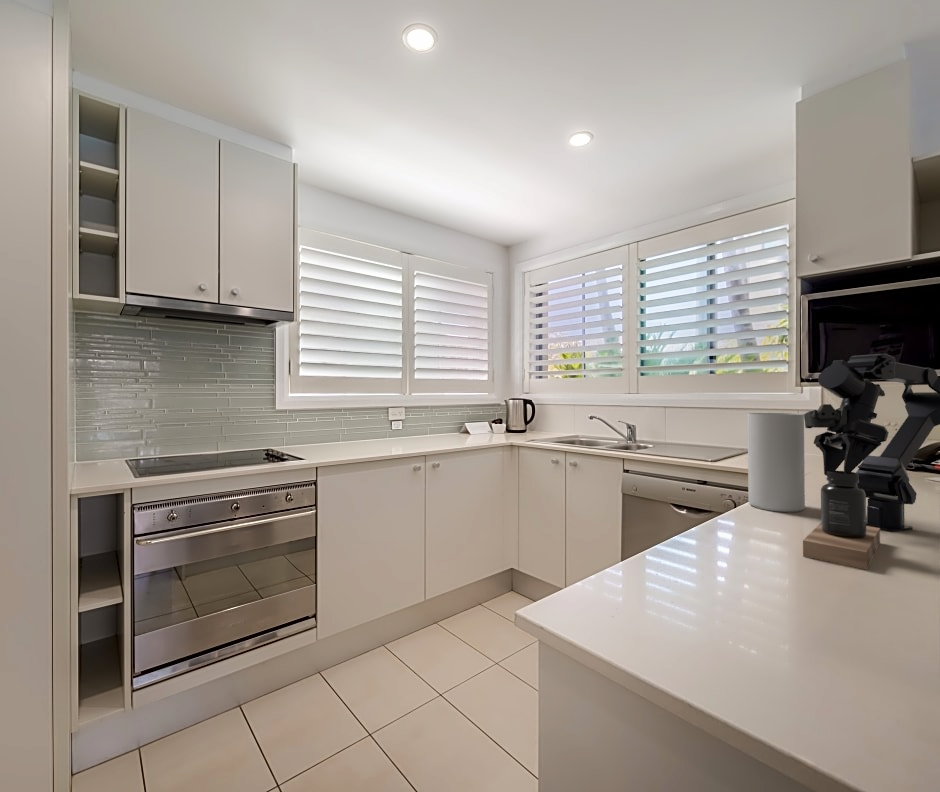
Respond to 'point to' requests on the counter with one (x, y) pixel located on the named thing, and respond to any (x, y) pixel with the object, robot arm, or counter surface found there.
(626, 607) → the counter surface
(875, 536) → the walnut ledge
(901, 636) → the counter surface
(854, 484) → the supplement bottle
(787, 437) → the cylinder vase
